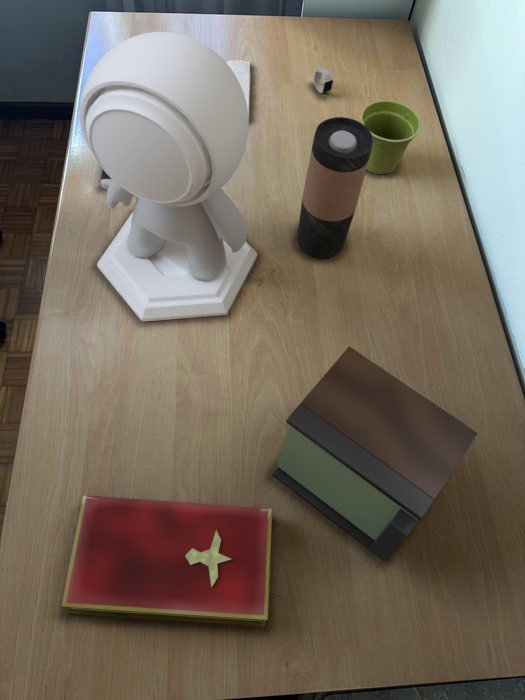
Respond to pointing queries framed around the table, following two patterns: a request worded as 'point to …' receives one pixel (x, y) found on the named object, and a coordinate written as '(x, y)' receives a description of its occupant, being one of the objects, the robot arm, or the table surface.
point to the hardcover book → (170, 561)
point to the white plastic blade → (242, 76)
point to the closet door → (346, 493)
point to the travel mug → (333, 185)
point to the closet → (379, 437)
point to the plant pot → (389, 133)
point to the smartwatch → (327, 80)
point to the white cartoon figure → (170, 173)
